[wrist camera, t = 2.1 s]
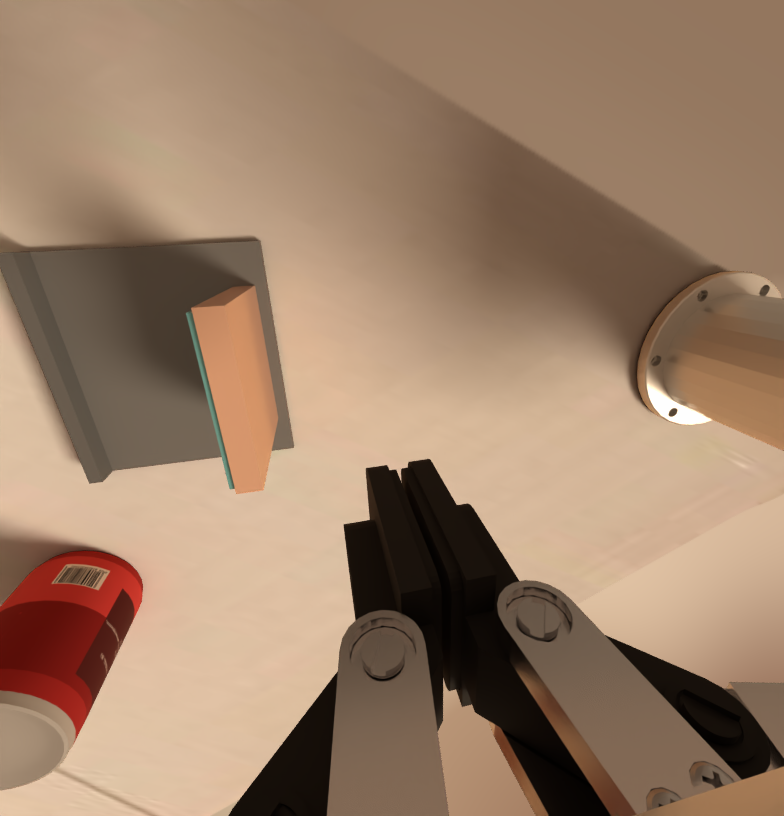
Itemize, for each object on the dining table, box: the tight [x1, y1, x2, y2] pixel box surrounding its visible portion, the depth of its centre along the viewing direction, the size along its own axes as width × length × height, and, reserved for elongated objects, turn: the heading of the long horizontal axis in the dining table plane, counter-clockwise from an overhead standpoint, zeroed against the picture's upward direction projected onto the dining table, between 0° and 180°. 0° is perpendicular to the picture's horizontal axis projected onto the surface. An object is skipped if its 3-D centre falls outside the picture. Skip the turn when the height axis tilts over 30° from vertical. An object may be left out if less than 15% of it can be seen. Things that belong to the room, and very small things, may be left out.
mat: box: [0, 241, 294, 484], centre depth 25 cm, size 13×14×2 cm
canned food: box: [0, 551, 143, 790], centre depth 26 cm, size 8×8×11 cm
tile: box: [186, 285, 278, 494], centre depth 22 cm, size 2×9×9 cm, turn 3°
